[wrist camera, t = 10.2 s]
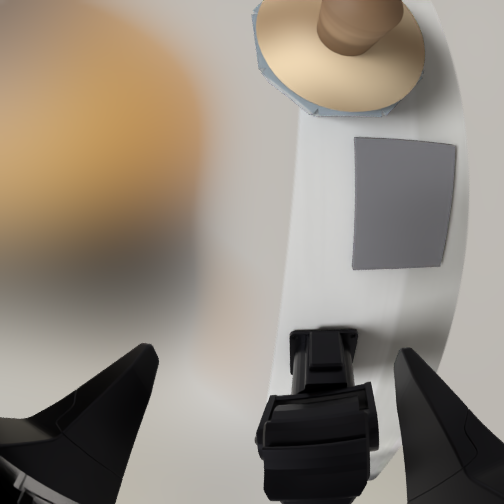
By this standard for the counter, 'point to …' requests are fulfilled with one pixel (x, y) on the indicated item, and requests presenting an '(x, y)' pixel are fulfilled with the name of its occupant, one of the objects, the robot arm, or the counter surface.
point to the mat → (401, 202)
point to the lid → (342, 50)
